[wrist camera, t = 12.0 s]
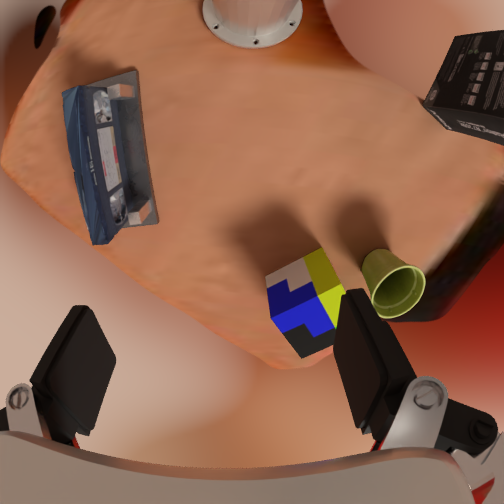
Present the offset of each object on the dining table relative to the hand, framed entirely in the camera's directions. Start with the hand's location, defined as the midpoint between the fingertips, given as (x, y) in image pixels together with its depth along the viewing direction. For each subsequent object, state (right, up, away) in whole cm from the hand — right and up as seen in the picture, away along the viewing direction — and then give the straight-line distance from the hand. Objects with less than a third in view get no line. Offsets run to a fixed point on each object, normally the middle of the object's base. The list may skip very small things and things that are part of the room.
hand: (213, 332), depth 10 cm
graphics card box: (+32, +30, +20) cm, 48 cm away
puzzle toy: (+10, -2, +36) cm, 38 cm away
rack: (-17, +17, +25) cm, 34 cm away
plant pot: (+22, +1, +35) cm, 42 cm away
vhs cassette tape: (-17, +16, +24) cm, 34 cm away
